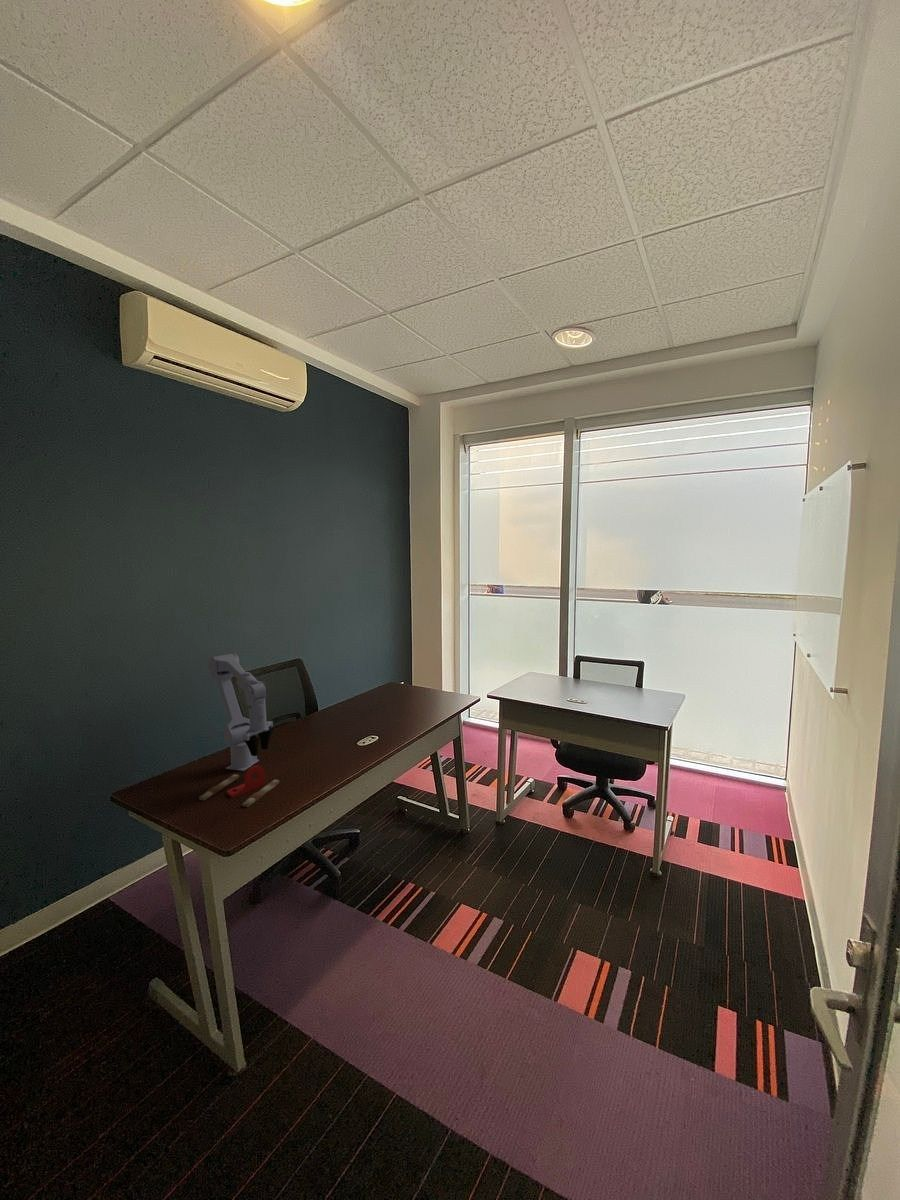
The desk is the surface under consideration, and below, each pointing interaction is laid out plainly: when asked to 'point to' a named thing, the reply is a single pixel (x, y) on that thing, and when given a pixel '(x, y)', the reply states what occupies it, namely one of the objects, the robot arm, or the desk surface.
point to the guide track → (231, 779)
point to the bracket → (249, 782)
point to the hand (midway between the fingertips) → (259, 752)
